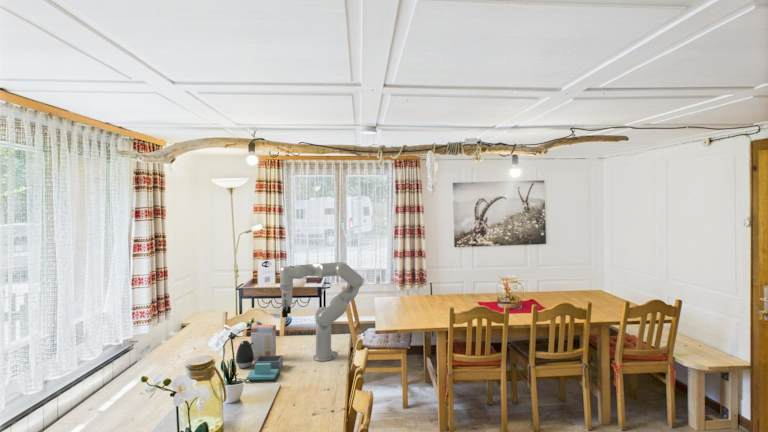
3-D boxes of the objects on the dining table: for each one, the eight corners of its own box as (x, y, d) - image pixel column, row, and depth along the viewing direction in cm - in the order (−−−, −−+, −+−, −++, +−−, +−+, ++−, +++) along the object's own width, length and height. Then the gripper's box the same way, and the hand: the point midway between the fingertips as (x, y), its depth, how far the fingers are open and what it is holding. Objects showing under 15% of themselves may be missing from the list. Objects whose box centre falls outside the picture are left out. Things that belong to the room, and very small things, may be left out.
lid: (251, 373, 211) (252, 360, 212) (278, 372, 212) (278, 360, 213) (246, 381, 201) (246, 367, 201) (274, 380, 202) (274, 367, 202)
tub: (258, 366, 224) (258, 355, 224) (282, 365, 225) (282, 355, 225) (254, 372, 214) (254, 362, 214) (279, 372, 215) (279, 361, 215)
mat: (251, 374, 212) (251, 373, 212) (280, 373, 213) (280, 372, 213) (244, 383, 200) (244, 382, 200) (275, 382, 201) (275, 381, 201)
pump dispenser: (248, 370, 218) (248, 343, 218) (231, 369, 220) (232, 342, 220) (257, 364, 228) (257, 338, 228) (241, 362, 230) (242, 337, 230)
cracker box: (276, 358, 237) (276, 324, 238) (272, 361, 231) (272, 327, 232) (254, 357, 239) (254, 324, 239) (250, 360, 233) (250, 326, 233)
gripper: (290, 289, 224) (290, 318, 223) (295, 284, 241) (295, 311, 241) (277, 289, 223) (277, 318, 223) (283, 285, 241) (283, 312, 240)
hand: (286, 315), depth 232 cm, fingers open, 9 cm apart
